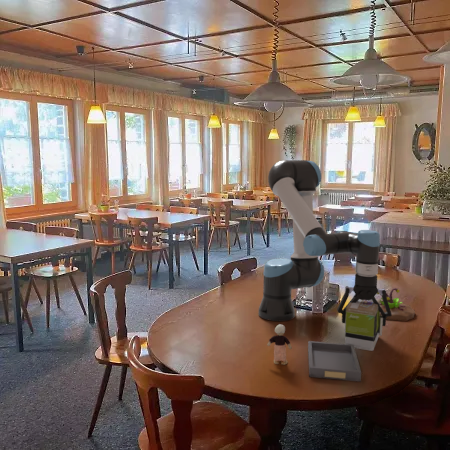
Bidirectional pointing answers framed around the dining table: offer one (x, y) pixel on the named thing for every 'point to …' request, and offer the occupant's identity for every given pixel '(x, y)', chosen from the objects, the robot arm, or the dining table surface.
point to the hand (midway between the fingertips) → (362, 332)
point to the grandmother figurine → (280, 345)
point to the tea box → (362, 324)
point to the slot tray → (333, 361)
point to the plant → (397, 308)
